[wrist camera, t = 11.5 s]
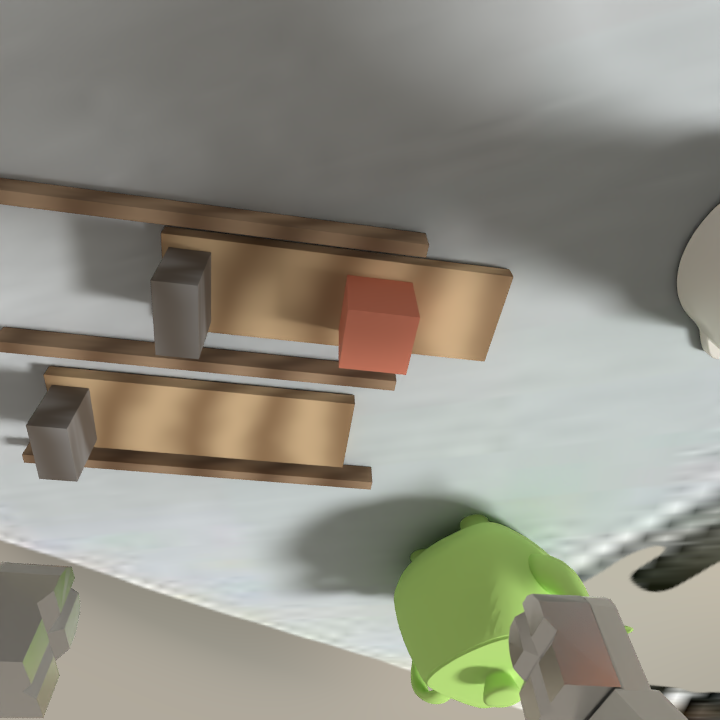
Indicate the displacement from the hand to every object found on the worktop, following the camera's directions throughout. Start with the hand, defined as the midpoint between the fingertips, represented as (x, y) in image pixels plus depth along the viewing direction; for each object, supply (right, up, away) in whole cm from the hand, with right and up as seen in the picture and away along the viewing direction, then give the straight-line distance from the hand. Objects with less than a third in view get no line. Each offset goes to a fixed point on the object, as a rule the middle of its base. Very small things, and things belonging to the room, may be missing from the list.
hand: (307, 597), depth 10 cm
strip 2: (-1, +9, +35) cm, 36 cm away
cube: (+2, +8, +34) cm, 36 cm away
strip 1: (-13, -1, +42) cm, 44 cm away
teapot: (+17, -18, +57) cm, 62 cm away
